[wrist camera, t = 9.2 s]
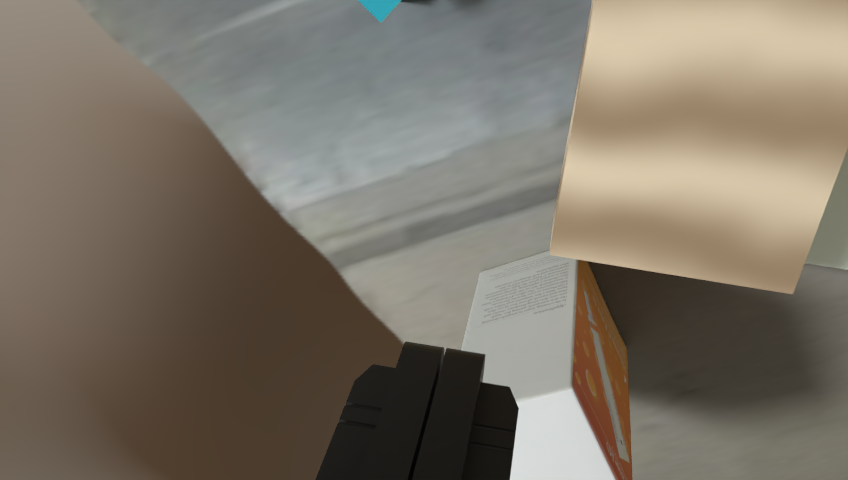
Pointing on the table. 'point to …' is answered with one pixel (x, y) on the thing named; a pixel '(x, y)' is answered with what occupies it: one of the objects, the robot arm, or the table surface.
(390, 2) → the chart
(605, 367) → the small box
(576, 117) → the birch deck
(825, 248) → the sage mat
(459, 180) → the table surface
